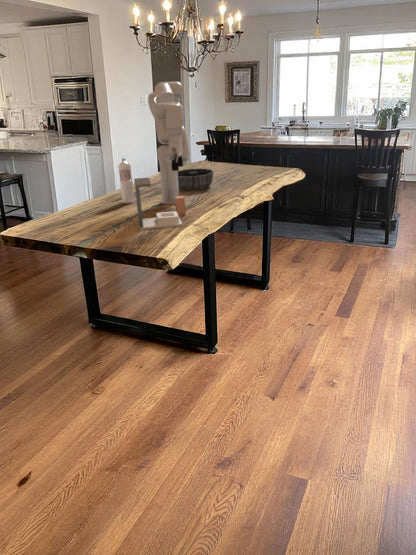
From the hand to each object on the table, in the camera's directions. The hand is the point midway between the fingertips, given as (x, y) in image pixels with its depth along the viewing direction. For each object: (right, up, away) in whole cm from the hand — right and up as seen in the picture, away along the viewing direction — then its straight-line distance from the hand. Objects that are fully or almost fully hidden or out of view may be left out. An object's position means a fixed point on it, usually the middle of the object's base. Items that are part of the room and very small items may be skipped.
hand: (177, 168), depth 225 cm
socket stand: (-9, -26, +1) cm, 28 cm away
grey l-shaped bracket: (-15, -26, 0) cm, 30 cm away
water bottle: (-31, -10, +43) cm, 54 cm away
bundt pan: (+6, +4, +72) cm, 72 cm away
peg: (+1, -20, +15) cm, 25 cm away
